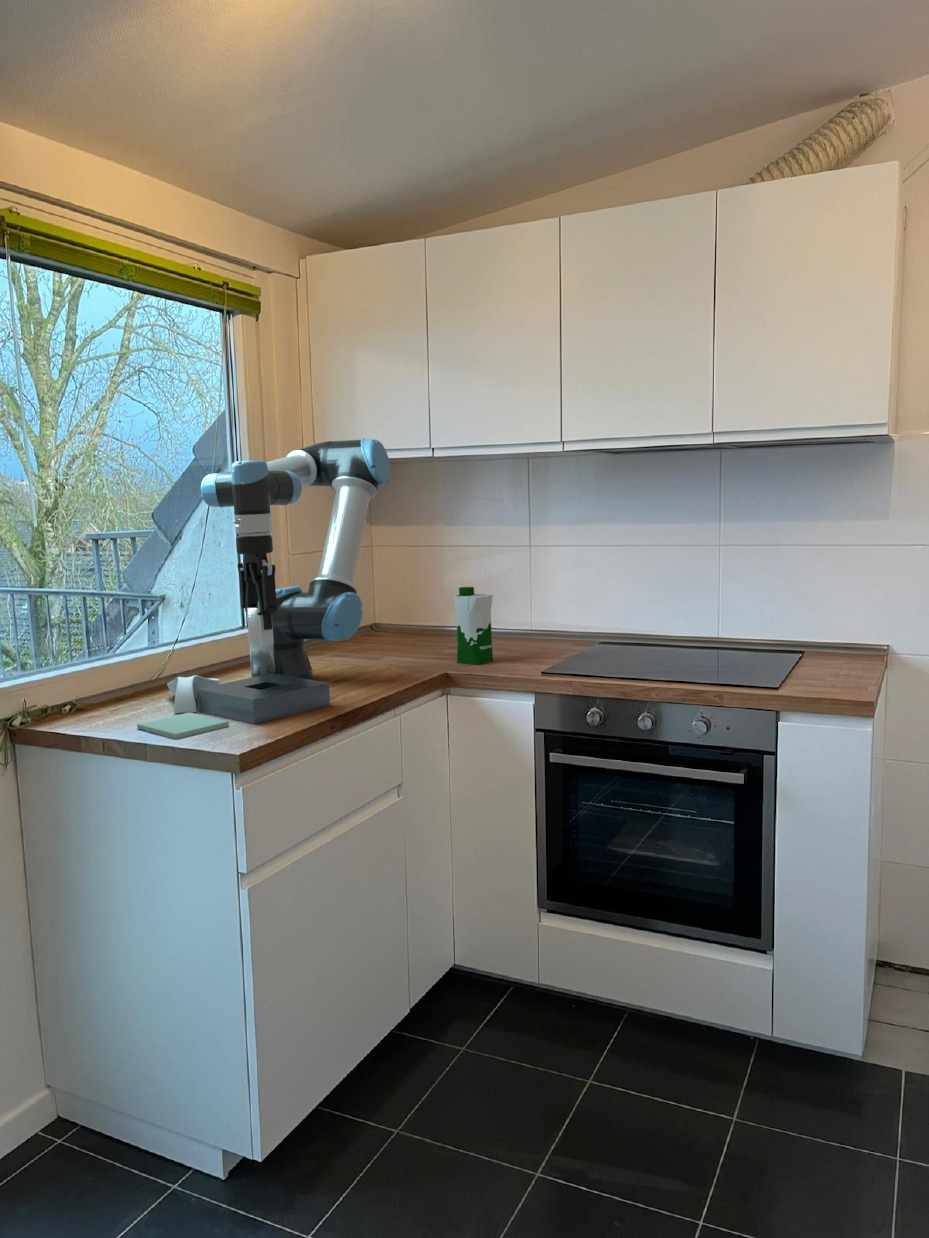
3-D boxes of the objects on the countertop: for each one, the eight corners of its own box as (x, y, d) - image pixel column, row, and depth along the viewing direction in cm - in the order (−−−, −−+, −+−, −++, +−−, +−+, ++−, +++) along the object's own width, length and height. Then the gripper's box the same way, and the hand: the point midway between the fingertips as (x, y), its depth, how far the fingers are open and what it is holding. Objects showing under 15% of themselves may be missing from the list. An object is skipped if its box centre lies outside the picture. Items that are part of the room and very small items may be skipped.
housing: (198, 711, 199) (196, 688, 199) (273, 694, 214) (272, 673, 214) (254, 724, 186) (252, 699, 186) (330, 705, 201) (329, 682, 200)
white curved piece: (171, 694, 220) (169, 664, 219) (222, 690, 222) (220, 661, 221) (158, 716, 197) (155, 683, 196) (215, 712, 199) (213, 680, 198)
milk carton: (471, 658, 254) (469, 585, 252) (498, 660, 249) (496, 586, 246) (451, 663, 247) (449, 588, 245) (479, 666, 242) (476, 590, 239)
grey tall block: (247, 671, 200) (242, 607, 198) (268, 668, 203) (264, 605, 201) (257, 675, 196) (252, 609, 194) (278, 671, 199) (274, 607, 197)
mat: (137, 728, 185) (137, 724, 185) (189, 716, 194) (189, 712, 194) (175, 739, 176) (175, 734, 176) (228, 726, 185) (228, 721, 185)
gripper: (219, 535, 200) (227, 641, 203) (256, 536, 186) (263, 650, 189) (251, 533, 205) (258, 636, 208) (289, 534, 190) (296, 645, 194)
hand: (261, 643), depth 199 cm, fingers closed on grey tall block, 5 cm apart
